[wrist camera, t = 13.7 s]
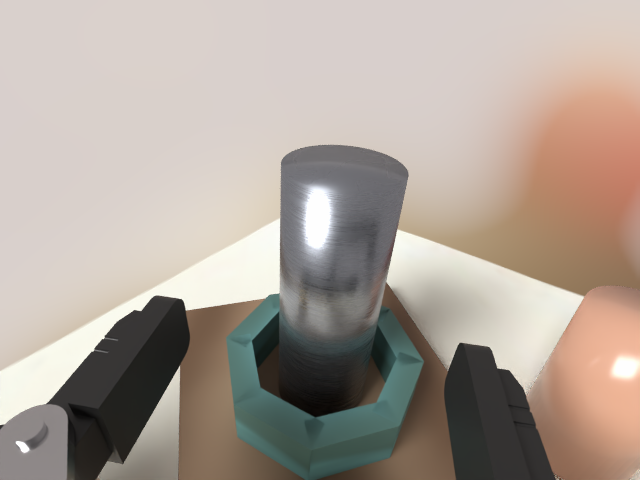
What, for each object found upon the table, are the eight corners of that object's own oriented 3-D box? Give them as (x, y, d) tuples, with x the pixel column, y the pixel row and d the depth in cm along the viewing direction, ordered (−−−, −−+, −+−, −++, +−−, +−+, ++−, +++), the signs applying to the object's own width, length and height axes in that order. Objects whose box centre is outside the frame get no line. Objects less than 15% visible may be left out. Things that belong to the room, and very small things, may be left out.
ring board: (382, 292, 28) (390, 252, 26) (515, 497, 16) (547, 453, 14) (184, 325, 24) (175, 280, 22) (181, 618, 13) (162, 581, 11)
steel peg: (345, 343, 22) (376, 143, 15) (376, 411, 18) (433, 188, 12) (271, 358, 21) (270, 146, 14) (289, 434, 17) (298, 198, 11)
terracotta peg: (568, 385, 22) (640, 278, 17) (654, 475, 18) (776, 364, 13) (497, 405, 20) (556, 294, 16) (573, 506, 16) (679, 395, 12)
